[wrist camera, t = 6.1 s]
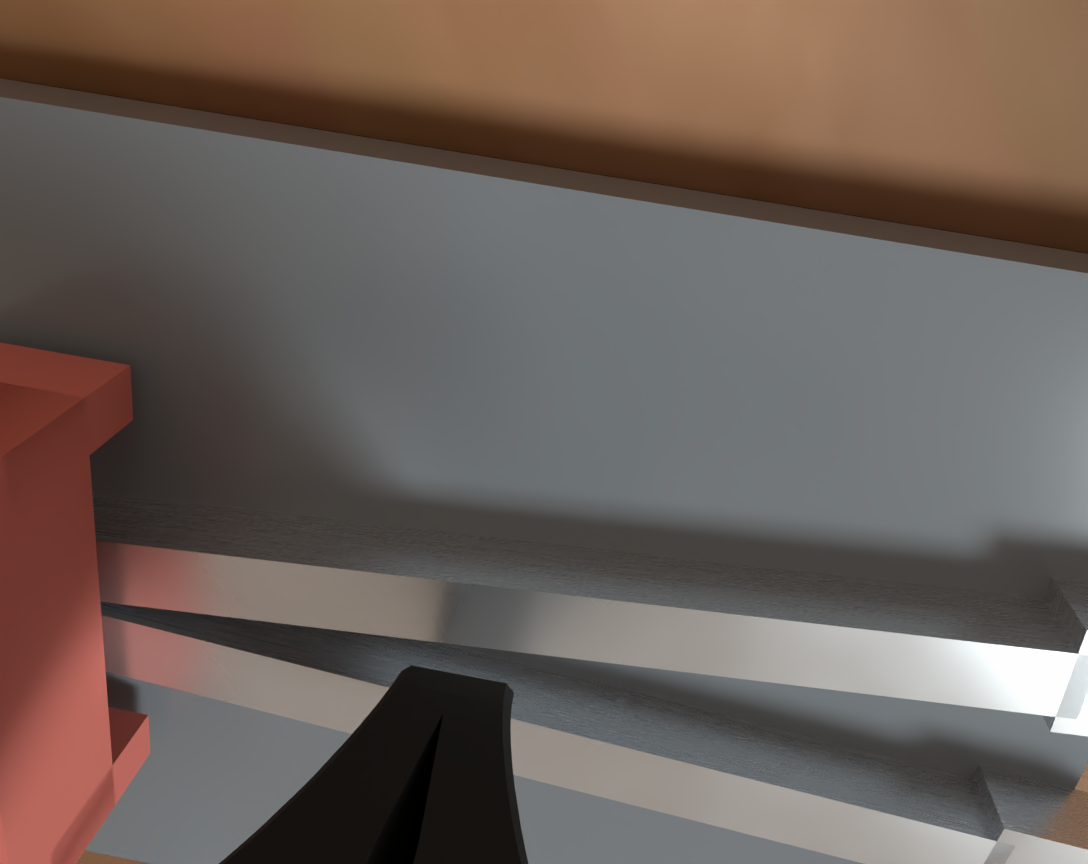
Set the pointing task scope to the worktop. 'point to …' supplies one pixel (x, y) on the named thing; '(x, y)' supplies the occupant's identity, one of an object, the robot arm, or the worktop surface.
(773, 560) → the slate board
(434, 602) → the tongs
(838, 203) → the worktop surface
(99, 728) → the red block
